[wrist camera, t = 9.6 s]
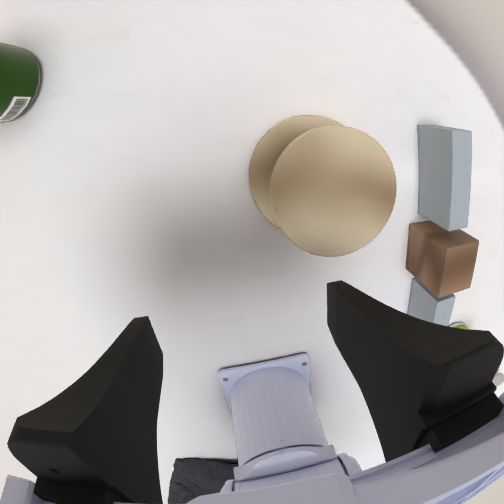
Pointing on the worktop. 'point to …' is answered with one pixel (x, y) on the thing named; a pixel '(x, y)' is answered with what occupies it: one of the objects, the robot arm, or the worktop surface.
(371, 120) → the worktop surface
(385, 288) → the worktop surface
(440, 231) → the block
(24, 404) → the worktop surface
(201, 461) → the dark slate chunk
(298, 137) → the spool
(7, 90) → the beer can
